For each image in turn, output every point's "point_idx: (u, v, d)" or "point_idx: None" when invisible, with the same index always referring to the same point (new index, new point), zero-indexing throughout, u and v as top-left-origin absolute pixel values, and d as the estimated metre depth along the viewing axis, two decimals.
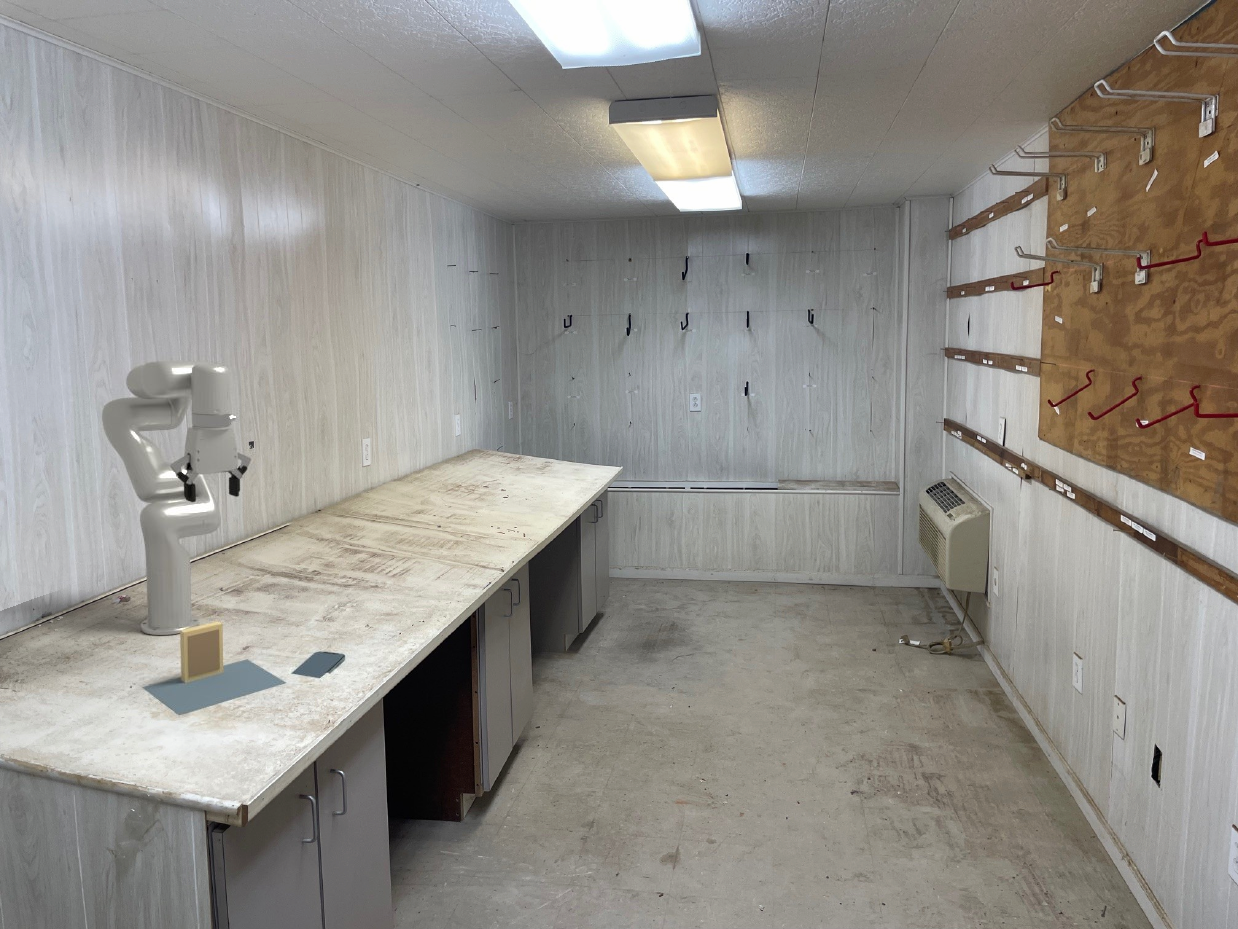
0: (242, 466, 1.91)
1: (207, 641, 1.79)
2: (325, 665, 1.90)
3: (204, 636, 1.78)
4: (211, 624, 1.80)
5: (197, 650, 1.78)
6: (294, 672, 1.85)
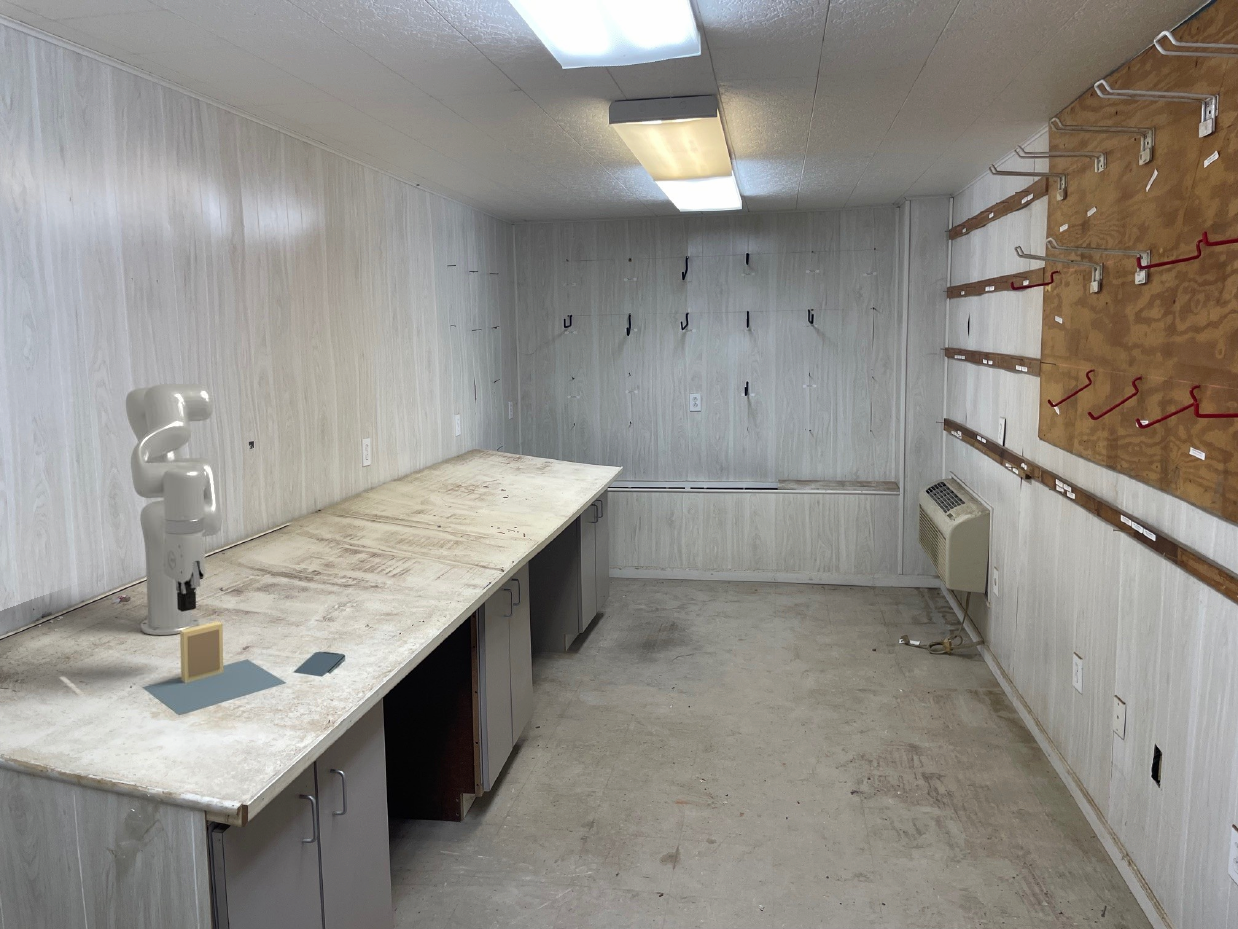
0: None
1: (207, 641, 1.79)
2: (326, 665, 1.90)
3: (204, 636, 1.78)
4: (211, 624, 1.80)
5: (197, 650, 1.78)
6: (294, 672, 1.85)
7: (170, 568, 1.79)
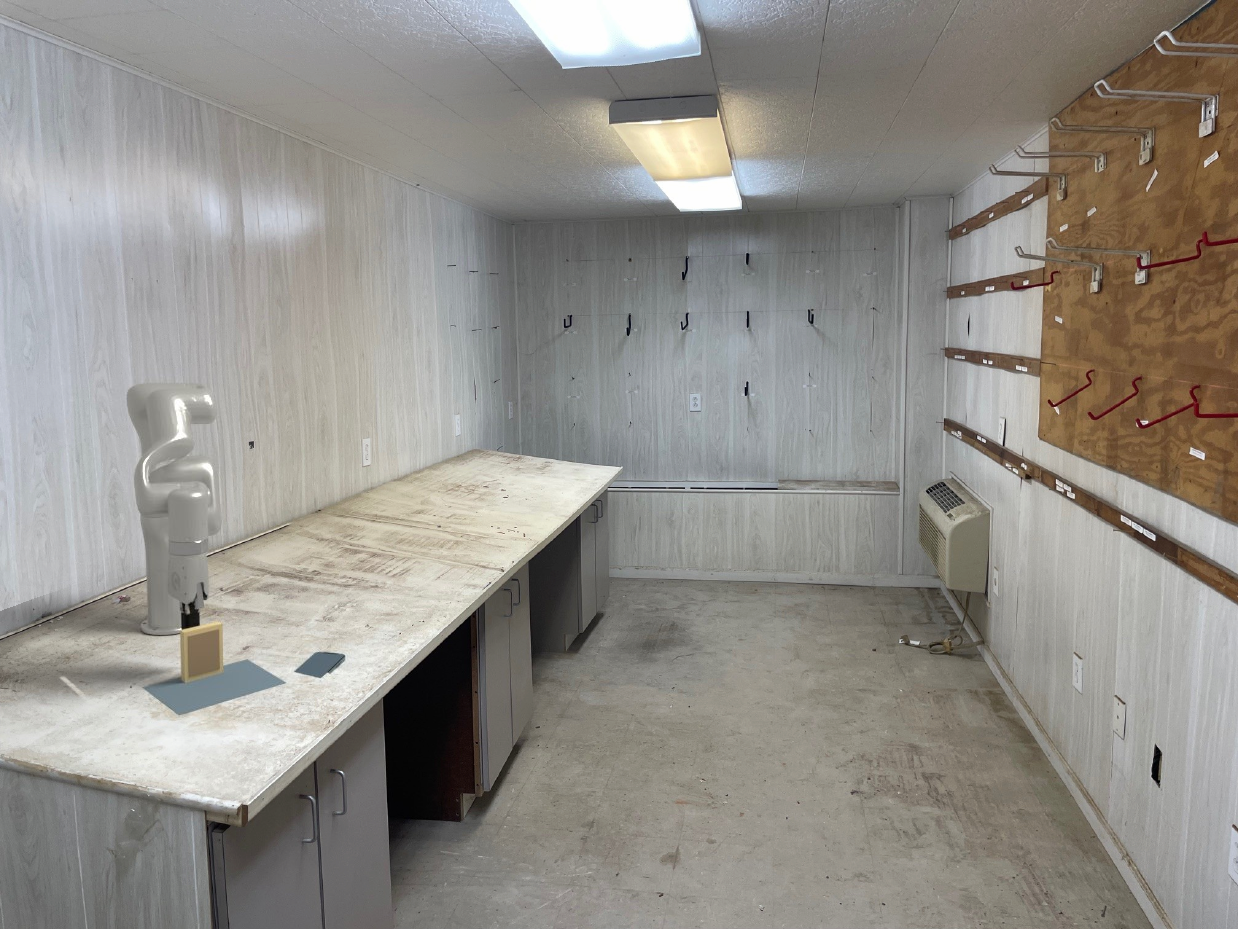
0: None
1: (207, 641, 1.79)
2: (326, 665, 1.90)
3: (204, 636, 1.78)
4: (211, 624, 1.80)
5: (197, 650, 1.78)
6: None
7: (174, 589, 1.79)
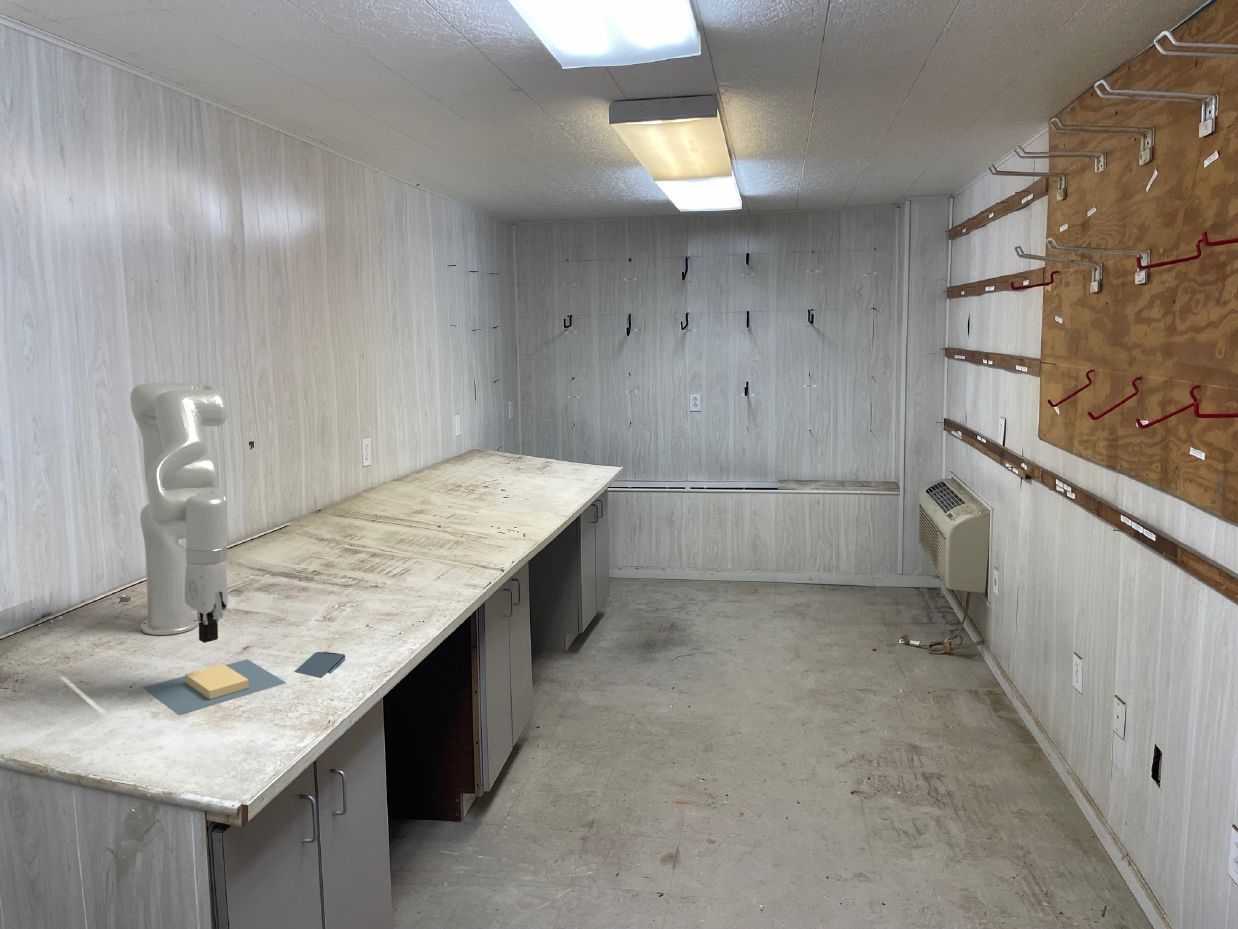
0: None
1: None
2: (326, 665, 1.90)
3: None
4: (239, 686, 1.74)
5: None
6: None
7: (192, 598, 1.74)
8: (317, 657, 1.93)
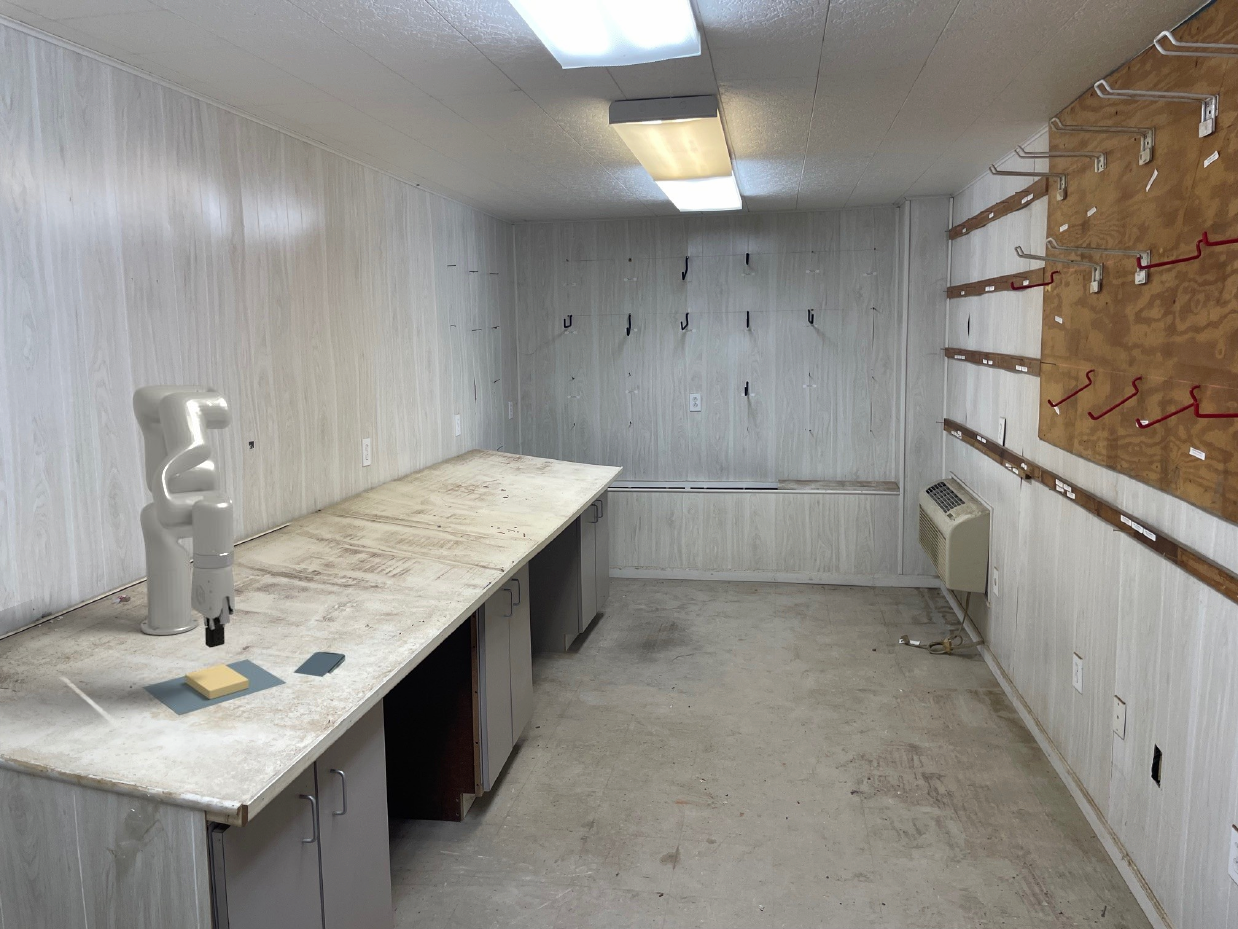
0: None
1: None
2: (326, 665, 1.90)
3: None
4: (239, 686, 1.74)
5: None
6: (295, 672, 1.85)
7: (198, 603, 1.72)
8: (317, 657, 1.93)
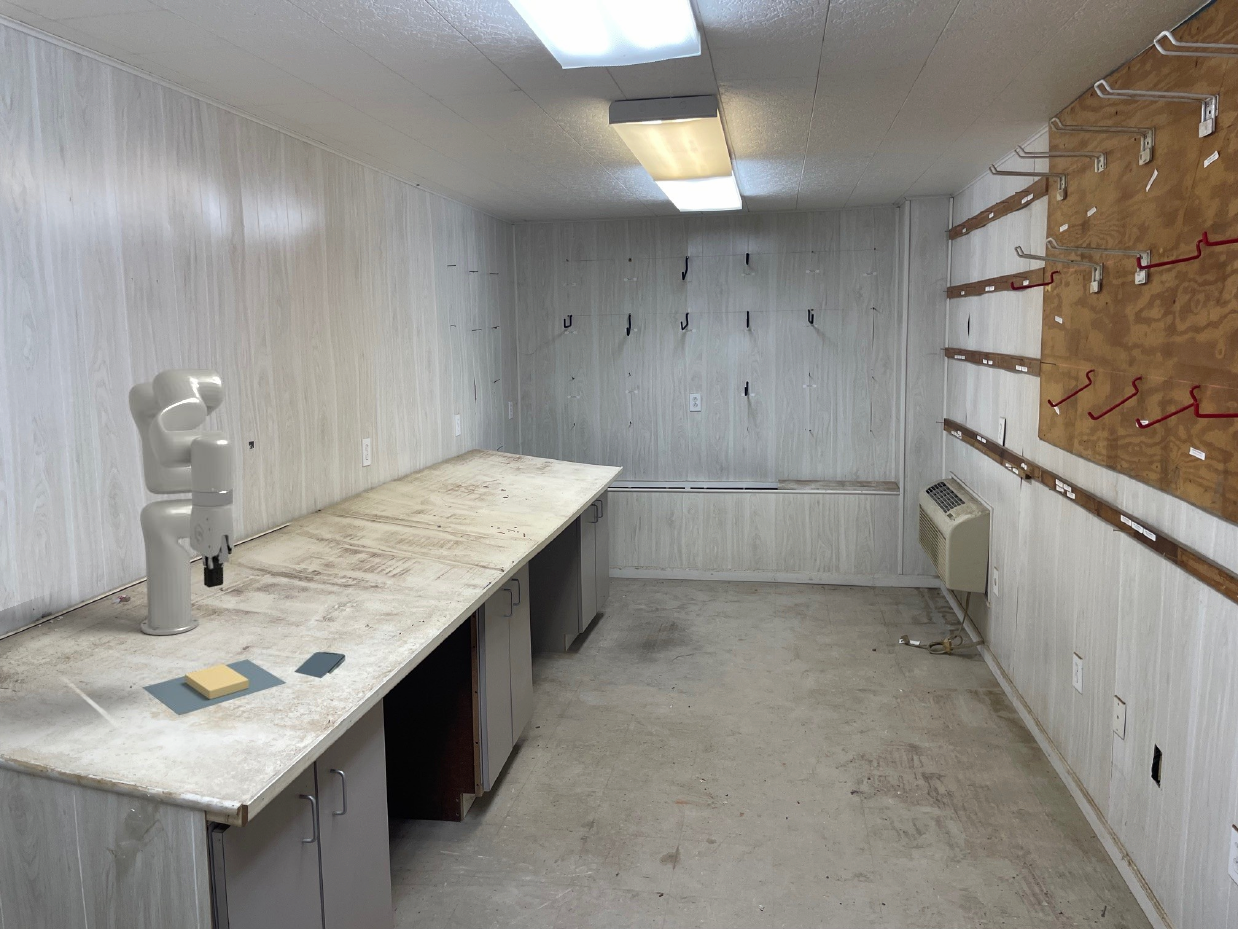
0: None
1: None
2: (326, 665, 1.90)
3: None
4: (239, 686, 1.74)
5: None
6: None
7: (197, 542, 1.70)
8: (317, 657, 1.93)
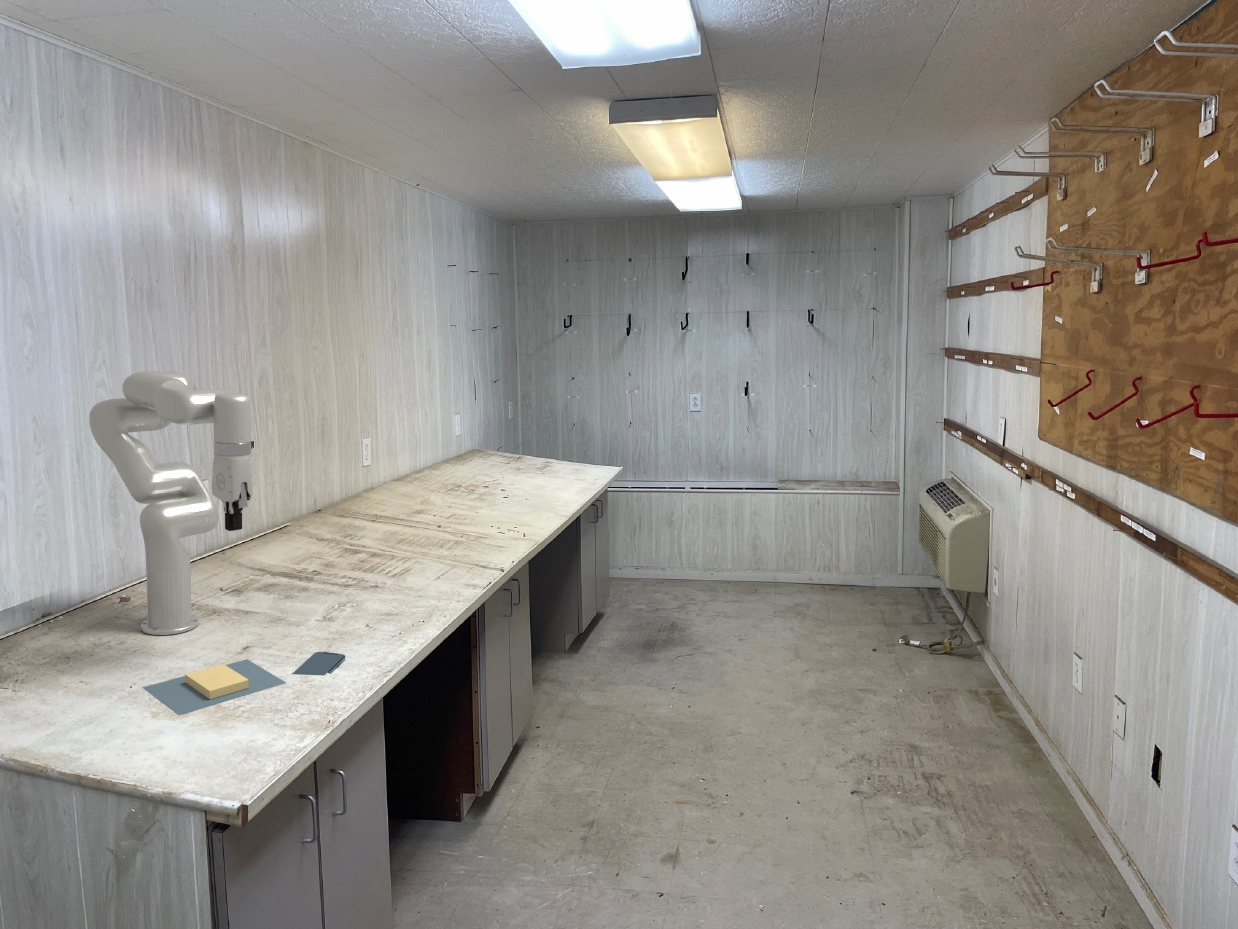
0: None
1: None
2: (326, 665, 1.90)
3: None
4: (239, 686, 1.74)
5: None
6: (295, 672, 1.85)
7: (219, 489, 1.88)
8: (317, 657, 1.93)
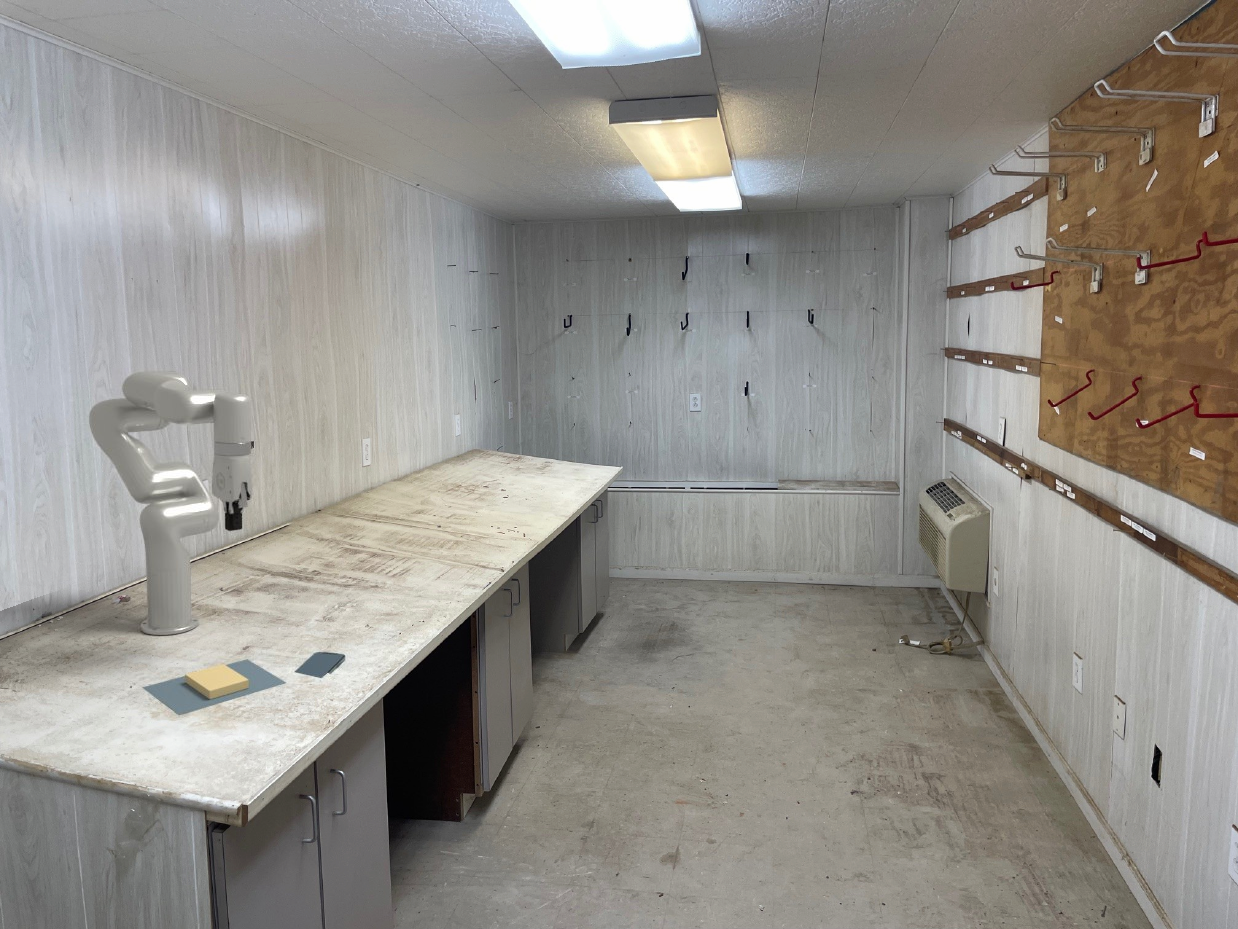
0: None
1: None
2: (326, 665, 1.90)
3: None
4: (239, 686, 1.74)
5: None
6: None
7: (219, 489, 1.88)
8: (317, 657, 1.93)
